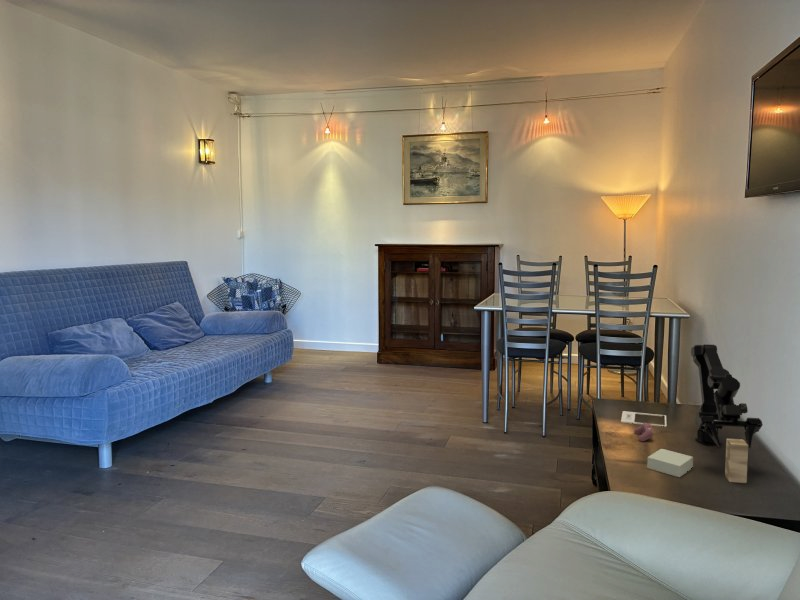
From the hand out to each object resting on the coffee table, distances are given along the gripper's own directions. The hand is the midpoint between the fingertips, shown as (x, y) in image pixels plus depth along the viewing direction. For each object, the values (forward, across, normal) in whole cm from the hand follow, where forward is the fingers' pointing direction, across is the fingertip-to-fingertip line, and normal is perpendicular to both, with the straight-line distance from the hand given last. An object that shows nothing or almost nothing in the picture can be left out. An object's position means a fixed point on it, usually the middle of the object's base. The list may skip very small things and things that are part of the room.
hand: (734, 447), depth 191 cm
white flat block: (+5, -19, +9) cm, 22 cm away
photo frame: (-32, -19, +46) cm, 60 cm away
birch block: (+9, 0, +5) cm, 11 cm away
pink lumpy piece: (-16, -23, +30) cm, 41 cm away
